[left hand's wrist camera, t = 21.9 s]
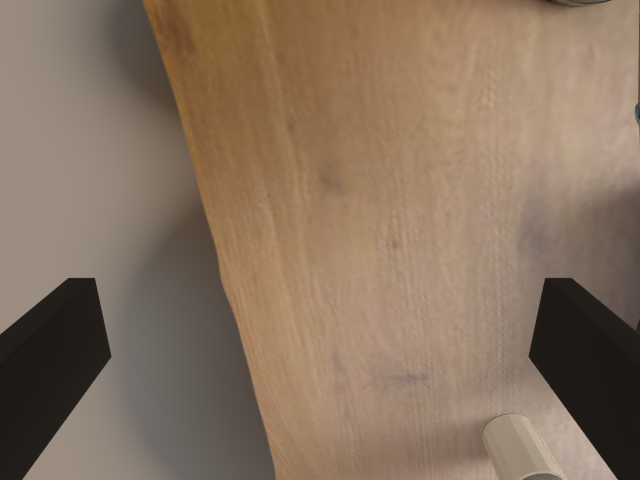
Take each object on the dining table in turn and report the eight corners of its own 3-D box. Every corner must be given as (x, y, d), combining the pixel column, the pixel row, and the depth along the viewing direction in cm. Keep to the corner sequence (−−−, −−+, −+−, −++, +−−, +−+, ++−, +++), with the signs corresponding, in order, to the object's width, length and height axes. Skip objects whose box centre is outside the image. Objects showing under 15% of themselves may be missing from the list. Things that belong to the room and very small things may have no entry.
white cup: (485, 413, 58) (513, 471, 50) (538, 413, 58) (575, 471, 50) (478, 453, 61) (503, 514, 53) (529, 453, 61) (562, 514, 53)
